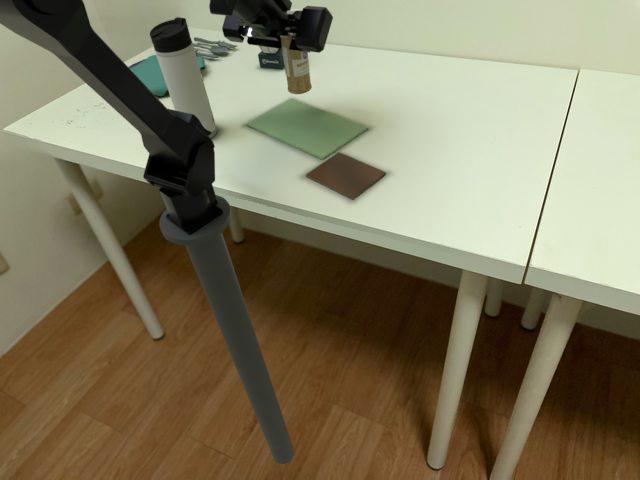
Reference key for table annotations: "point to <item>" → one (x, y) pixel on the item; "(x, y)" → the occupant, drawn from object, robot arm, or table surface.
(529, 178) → the table surface
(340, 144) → the green mat
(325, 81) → the table surface
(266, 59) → the watch
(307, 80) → the sprinkles bottle
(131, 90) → the robot arm
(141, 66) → the cutlery set
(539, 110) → the table surface
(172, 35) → the travel mug
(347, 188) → the walnut mat
